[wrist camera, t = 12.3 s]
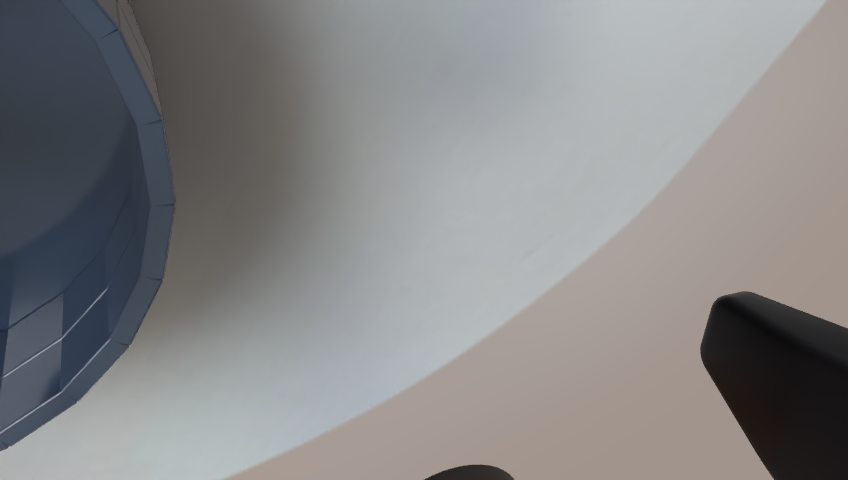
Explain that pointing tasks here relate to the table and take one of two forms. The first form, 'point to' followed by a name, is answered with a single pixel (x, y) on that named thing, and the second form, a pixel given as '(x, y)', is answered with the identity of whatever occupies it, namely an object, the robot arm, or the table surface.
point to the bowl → (75, 201)
